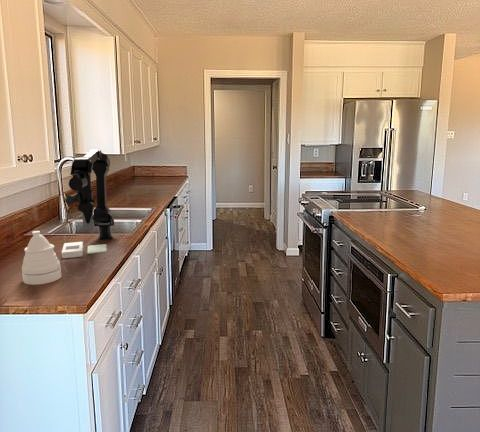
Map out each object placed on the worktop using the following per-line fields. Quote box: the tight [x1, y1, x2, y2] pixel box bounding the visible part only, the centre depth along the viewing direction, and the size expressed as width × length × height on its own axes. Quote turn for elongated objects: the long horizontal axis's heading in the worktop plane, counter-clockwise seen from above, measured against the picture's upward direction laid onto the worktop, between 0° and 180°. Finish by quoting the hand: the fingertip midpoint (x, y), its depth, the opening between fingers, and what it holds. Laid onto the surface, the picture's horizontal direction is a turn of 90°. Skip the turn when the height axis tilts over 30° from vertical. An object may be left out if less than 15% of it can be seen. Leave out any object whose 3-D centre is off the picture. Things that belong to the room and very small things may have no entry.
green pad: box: [86, 243, 107, 255], centre depth 197 cm, size 12×8×1 cm, turn 18°
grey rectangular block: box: [81, 212, 95, 232], centre depth 193 cm, size 4×4×8 cm
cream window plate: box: [61, 241, 84, 259], centre depth 193 cm, size 16×8×2 cm, turn 18°
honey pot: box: [21, 230, 62, 286], centre depth 159 cm, size 13×13×18 cm
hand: (88, 222), depth 194 cm, fingers closed on grey rectangular block, 4 cm apart
